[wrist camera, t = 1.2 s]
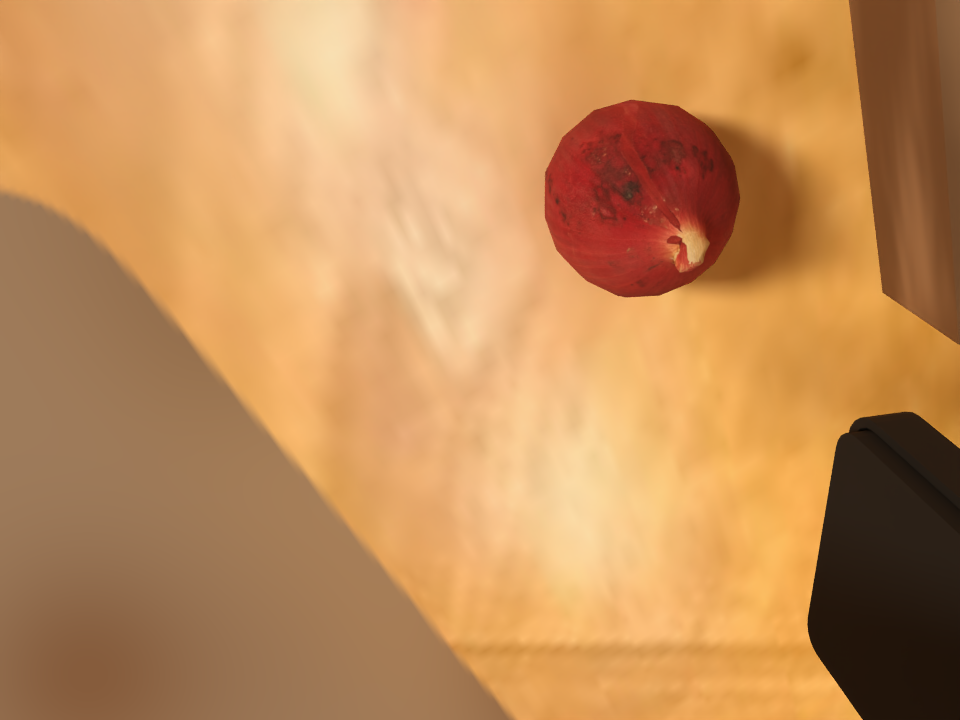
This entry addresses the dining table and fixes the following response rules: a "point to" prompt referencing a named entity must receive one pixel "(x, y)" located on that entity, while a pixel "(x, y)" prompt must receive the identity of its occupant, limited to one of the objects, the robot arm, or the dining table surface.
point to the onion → (640, 198)
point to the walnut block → (913, 149)
